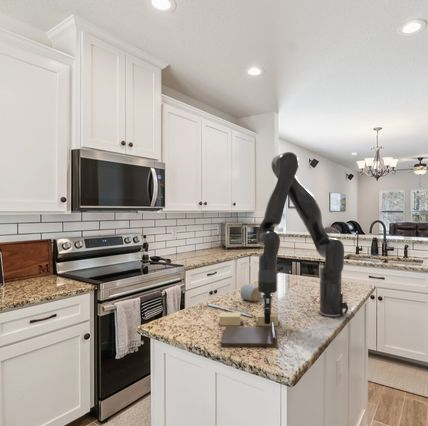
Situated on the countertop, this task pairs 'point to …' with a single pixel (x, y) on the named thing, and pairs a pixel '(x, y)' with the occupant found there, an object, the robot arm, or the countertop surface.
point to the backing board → (249, 337)
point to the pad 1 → (230, 318)
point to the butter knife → (228, 309)
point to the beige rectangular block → (272, 319)
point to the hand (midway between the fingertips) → (267, 319)
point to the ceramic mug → (250, 293)
